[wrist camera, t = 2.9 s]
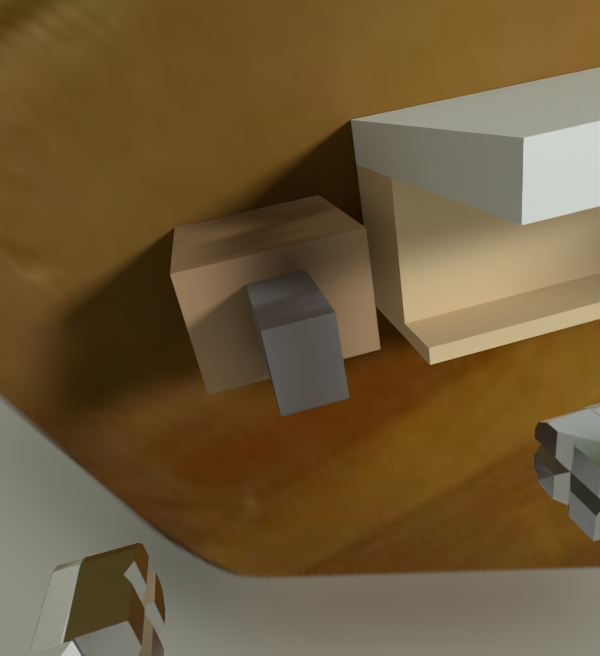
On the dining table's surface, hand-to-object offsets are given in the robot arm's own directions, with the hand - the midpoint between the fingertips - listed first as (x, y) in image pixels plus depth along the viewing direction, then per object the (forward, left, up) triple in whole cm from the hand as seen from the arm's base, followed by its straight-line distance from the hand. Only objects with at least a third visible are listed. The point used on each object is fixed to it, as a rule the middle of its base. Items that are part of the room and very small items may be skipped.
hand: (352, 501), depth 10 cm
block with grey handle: (0, 0, -16) cm, 16 cm away
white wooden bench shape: (-14, -1, -16) cm, 21 cm away
